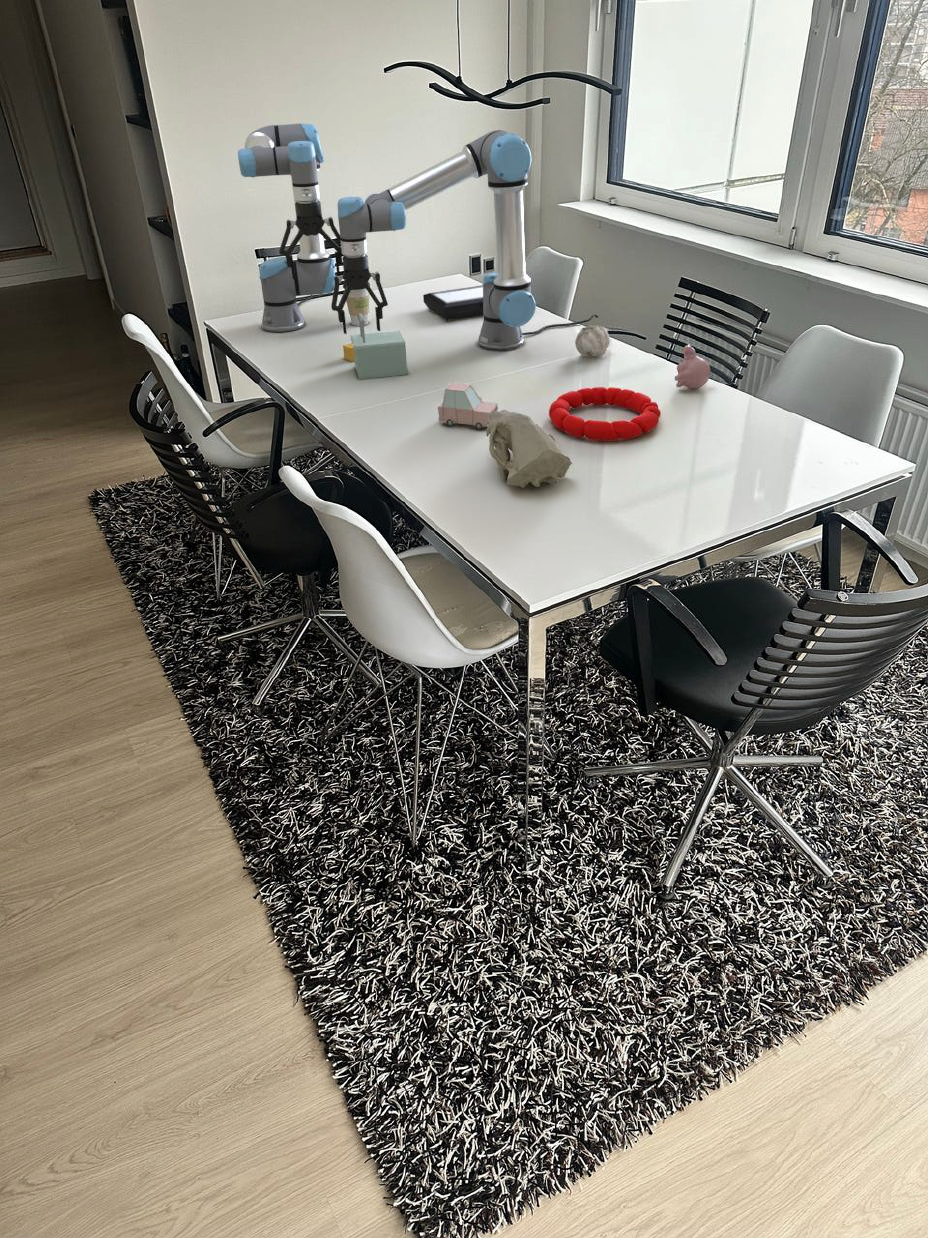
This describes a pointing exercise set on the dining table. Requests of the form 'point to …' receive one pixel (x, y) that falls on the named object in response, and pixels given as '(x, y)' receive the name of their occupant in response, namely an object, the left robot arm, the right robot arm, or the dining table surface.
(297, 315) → the left robot arm
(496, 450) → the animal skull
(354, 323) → the coffee cup
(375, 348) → the chest
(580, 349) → the seashell
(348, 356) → the block
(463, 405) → the toy car
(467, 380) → the dining table surface
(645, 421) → the decorative ring
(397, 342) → the lid
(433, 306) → the electronic device
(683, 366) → the figurine
